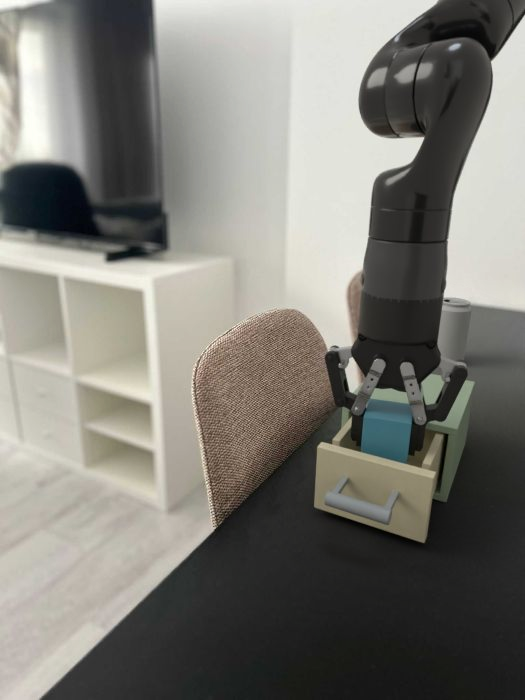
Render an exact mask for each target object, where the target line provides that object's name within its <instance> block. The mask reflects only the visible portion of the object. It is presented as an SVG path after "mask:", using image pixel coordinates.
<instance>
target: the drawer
mask: <svg viewBox="0 0 525 700" xmlns="http://www.w3.org/2000/svg"><path fill="white" fill-rule="evenodd" d="M351 423H352V417H351V418H350V419H349V420H348V422H347V423H346V424H345V425H344V426H343V428H342V429H341V428H340V429H339V431H338V432H337V434H335V436H334V437H333V438H332V442H331V443H332V444H331V443H328V442H325V441H321V442H320V443H319V444H318V445H317V447H316V464H315V465H316V466H315V484H314V501H313V502H314V505H313V508H315V509H317V510H320V511H324V512H327V513H330V514H333V515H335V516H339V517H342V518H345V519H349V520H350V521H351V520H352V521H355V522H357V523H360V524H364V525H367V526H370V527H373V528H376V529H379V530H382V531H385V532H388V533H391V534H394V535H398V536H400V537H403V538H406V539H410V540H413V541H416V542H418V543H421V544H425V543H426V540H427V538H428V530H429V525H430V518H431V511H432V510H431V509H432V503H433V499H432V497H433V495H434V492H435V489H436V487H437V484H438V481H439V479H440V476H441V473H442V470H443V464H444V457H445V451H446V444H447V437H448V434H446V433H442V432H438V431H433V430H429V429H425V434H424V442H423V448H422V450H421V451H420V452H419V451H415V455H414V456H410V455H408V458H407V464H404V463H400V462H396V461H393V460H389V459H385V458H381V457H377V456H374V455H370V454H366V453H362V452H361V447H357V446H356V441H352V439H351Z"/></svg>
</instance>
